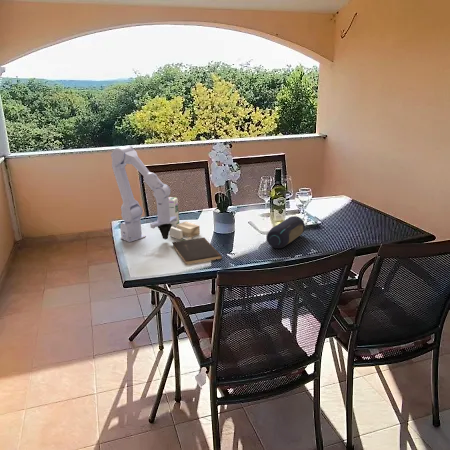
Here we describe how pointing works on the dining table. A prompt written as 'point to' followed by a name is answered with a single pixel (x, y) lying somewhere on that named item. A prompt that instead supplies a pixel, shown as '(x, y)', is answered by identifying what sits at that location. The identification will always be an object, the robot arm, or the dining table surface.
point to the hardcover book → (196, 250)
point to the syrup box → (174, 210)
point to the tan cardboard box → (189, 230)
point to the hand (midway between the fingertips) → (165, 238)
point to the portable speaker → (285, 232)
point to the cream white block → (176, 233)
